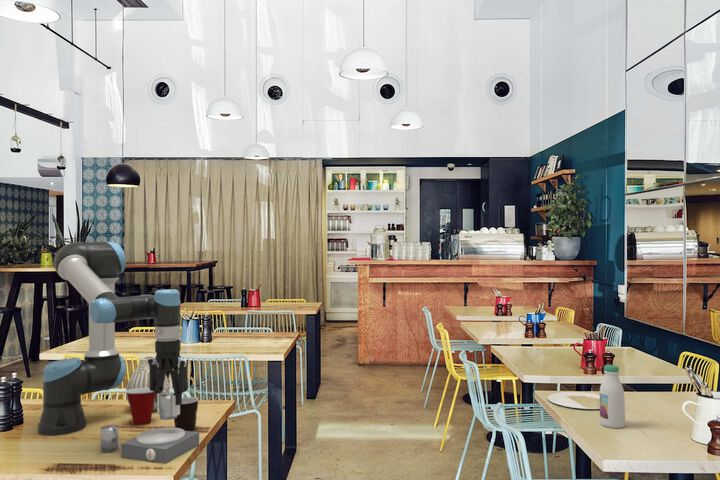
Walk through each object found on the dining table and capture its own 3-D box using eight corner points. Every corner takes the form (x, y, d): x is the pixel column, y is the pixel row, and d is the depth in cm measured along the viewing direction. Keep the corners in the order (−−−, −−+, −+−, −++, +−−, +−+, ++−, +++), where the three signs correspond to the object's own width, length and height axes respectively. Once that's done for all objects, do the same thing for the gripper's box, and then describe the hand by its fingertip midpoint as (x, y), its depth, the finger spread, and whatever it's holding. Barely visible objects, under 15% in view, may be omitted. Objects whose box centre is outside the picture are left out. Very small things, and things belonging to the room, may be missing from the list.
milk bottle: (625, 423, 195) (623, 364, 195) (625, 430, 188) (623, 368, 188) (600, 420, 198) (599, 363, 198) (599, 427, 191) (598, 367, 191)
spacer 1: (97, 451, 174) (96, 428, 174) (109, 446, 179) (109, 424, 179) (110, 453, 172) (109, 430, 173) (122, 448, 177) (122, 425, 177)
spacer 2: (156, 419, 176) (156, 396, 176) (166, 414, 180) (166, 392, 181) (170, 420, 174) (170, 397, 174) (180, 415, 179) (180, 393, 179)
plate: (566, 391, 241) (566, 388, 241) (627, 402, 222) (627, 399, 222) (535, 402, 224) (535, 399, 224) (598, 415, 205) (598, 412, 205)
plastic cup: (161, 417, 210) (160, 384, 210) (154, 426, 199) (154, 391, 199) (130, 419, 208) (129, 386, 208) (122, 428, 197) (121, 393, 198)
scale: (119, 457, 169) (119, 440, 169) (157, 440, 184) (157, 424, 184) (164, 464, 163) (164, 446, 163) (199, 445, 179) (199, 429, 179)
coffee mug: (190, 434, 189) (190, 404, 189) (167, 433, 191) (166, 403, 191) (207, 424, 201) (206, 395, 201) (184, 423, 202) (184, 394, 202)
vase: (119, 409, 221) (119, 357, 222) (159, 401, 232) (159, 352, 233) (135, 417, 210) (135, 363, 210) (176, 409, 220) (176, 357, 221)
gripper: (136, 340, 177) (136, 415, 177) (184, 342, 171) (185, 420, 171) (152, 336, 184) (153, 409, 184) (199, 338, 178) (200, 413, 178)
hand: (168, 414), depth 177 cm, fingers closed on spacer 2, 5 cm apart
